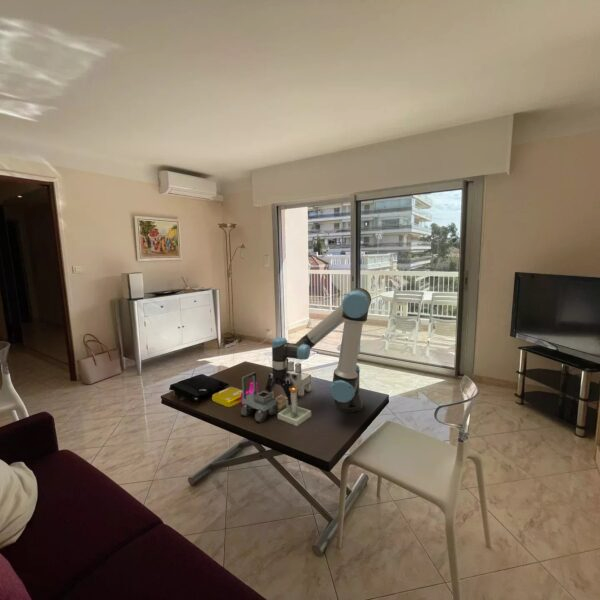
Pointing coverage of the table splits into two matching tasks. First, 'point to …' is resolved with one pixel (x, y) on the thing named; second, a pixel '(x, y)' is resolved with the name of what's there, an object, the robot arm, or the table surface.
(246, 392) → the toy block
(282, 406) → the chock
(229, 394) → the yellow square case
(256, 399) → the trolley
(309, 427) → the table surface
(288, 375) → the toy llama
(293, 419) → the tray
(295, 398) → the pin
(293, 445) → the table surface
